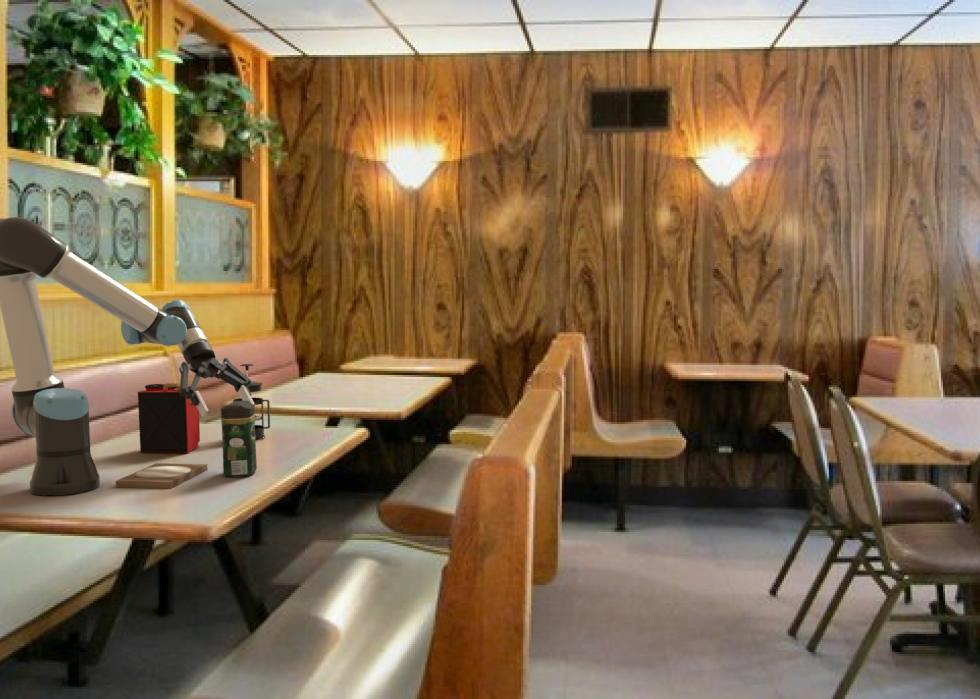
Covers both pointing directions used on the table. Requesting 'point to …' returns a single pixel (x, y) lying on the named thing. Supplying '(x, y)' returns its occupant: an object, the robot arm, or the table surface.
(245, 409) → the coffee jar
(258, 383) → the french press
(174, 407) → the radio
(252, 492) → the table surface
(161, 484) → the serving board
